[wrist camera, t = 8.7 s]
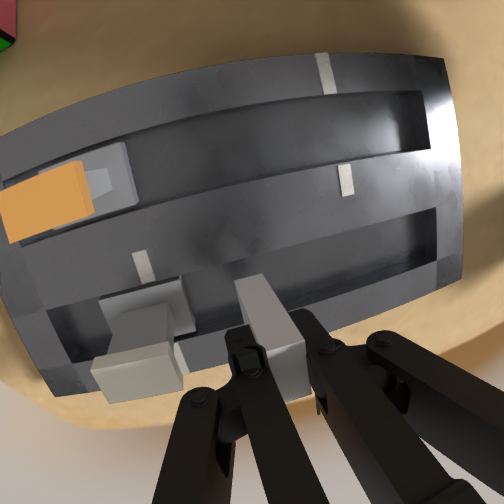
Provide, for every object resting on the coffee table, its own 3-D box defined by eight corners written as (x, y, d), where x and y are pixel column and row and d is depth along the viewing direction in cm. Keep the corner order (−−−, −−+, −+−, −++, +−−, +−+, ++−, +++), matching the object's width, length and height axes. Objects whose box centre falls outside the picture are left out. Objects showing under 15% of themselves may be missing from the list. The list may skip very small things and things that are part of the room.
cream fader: (103, 291, 18) (69, 359, 11) (179, 271, 19) (179, 335, 12) (122, 337, 19) (103, 416, 13) (194, 320, 20) (203, 397, 13)
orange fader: (47, 170, 16) (-21, 182, 9) (124, 142, 16) (87, 135, 9) (62, 224, 17) (3, 265, 10) (139, 201, 17) (111, 230, 10)
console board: (-17, 157, 15) (-41, 159, 12) (420, 64, 19) (444, 58, 16) (64, 374, 21) (54, 398, 18) (440, 267, 25) (462, 279, 22)
